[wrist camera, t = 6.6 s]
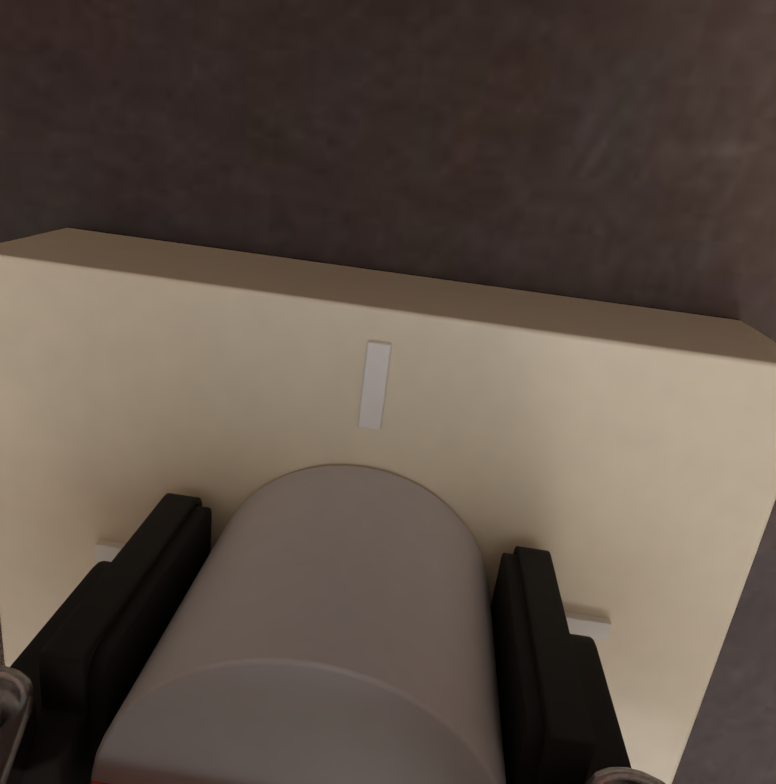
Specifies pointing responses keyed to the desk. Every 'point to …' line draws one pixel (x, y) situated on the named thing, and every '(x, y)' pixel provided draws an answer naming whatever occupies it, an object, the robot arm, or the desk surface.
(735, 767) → the desk surface
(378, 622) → the knob
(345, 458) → the panel
